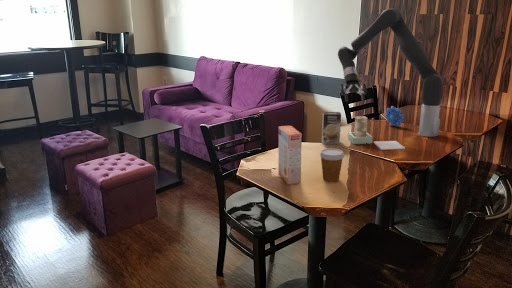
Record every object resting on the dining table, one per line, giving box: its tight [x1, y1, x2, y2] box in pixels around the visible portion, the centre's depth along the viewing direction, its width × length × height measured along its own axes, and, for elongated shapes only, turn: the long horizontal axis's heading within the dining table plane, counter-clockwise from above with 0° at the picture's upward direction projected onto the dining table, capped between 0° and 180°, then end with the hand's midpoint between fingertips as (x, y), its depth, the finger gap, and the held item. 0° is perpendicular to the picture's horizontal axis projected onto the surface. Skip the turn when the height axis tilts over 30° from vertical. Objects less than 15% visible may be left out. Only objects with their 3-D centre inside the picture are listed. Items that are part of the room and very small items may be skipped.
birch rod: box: [353, 115, 368, 137], centre depth 208 cm, size 5×5×13 cm
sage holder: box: [347, 131, 373, 145], centre depth 209 cm, size 10×10×4 cm
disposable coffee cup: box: [319, 147, 345, 183], centre depth 158 cm, size 10×10×12 cm
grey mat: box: [372, 140, 406, 151], centre depth 200 cm, size 12×12×1 cm
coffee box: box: [321, 111, 342, 145], centre depth 206 cm, size 9×6×16 cm
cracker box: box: [277, 125, 303, 185], centre depth 160 cm, size 14×6×21 cm, turn 12°
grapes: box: [384, 105, 404, 127], centre depth 235 cm, size 12×7×12 cm, turn 47°
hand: (355, 100), depth 215 cm, fingers open, 8 cm apart
